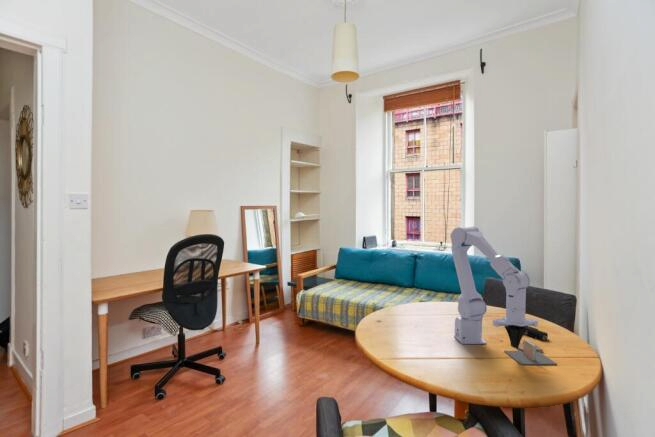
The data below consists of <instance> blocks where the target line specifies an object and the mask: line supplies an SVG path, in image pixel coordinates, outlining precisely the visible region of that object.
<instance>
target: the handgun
mask: <svg viewBox="0 0 655 437" xmlns="http://www.w3.org/2000/svg"><path fill="white" fill-rule="evenodd" d="M524 327H525V328H526V329H527V331H526V333H525V334H524V335H527V336H529V337H531V338H534V339H537V340H541V341H546V340H548V338H549V337H548V332H546V331H542V330H540V329H538V328H537V327H536V328H535V327H534V326H524Z"/></svg>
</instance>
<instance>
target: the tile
mask: <svg viewBox="0 0 655 437" xmlns="http://www.w3.org/2000/svg"><path fill="white" fill-rule="evenodd" d="M523 341H524V344H523V345H524V350H523V354H525V355H526V356H527V357H529V358H530V359H531V360H536V345H537V344H536V345H535V343H534V342H533V343H534V344H533V343H532V341H531V342H530V340H529V339H523Z"/></svg>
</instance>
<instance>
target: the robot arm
mask: <svg viewBox="0 0 655 437" xmlns="http://www.w3.org/2000/svg"><path fill="white" fill-rule="evenodd" d="M450 239H451V241H450V242H451V254H452V258H453V263H454V266H455V267H454V268H455V271H456V274H457V279H458V283H459V288H460V289H459V290H460V292H461V293H460V295H459V296H458V298H457V303H458V304H457V311H458V314H459V315H460V316H457V317H456V318H454V334H453V337H454V338H455V339H456V340H457V341H458V342H460V344H462V345H472V344H473V345H477V344H478V345H480V344H484V345H486V344H487V342H486V341H485V340H484V339H483V318H484V315H485V314H486V313H487V310H488V308H487V304H486V302H485V301H484V300H483V296H482V294H480V293H479V292H478V291H477V289H476V284H475V280H474V276H473V272H472V268H471V263H470V259H469V256H468V251H469V249H470V248H471V247H473V246H474V247H476V248H477V249H478V250H479V251H480V252H481V254H483V255H484V257H486V258H487V259H488V260H489V261H490V263H489V264H490V267H491V268H492V269H493V270H494V271H495V272H496V273H497V275H498V276H499V277H501V279H502V284H503V286H504V288H505V293H506V301H505V306H506V307H505V308H506V309H505V317H503V318H497V319H496V318H495V319H492V325H493V326H494V327H496V328H498V327H504V328H505V330H506V332H507V335H508V338H509V341H510V346H511V347H512V348H514V349H517V348H518V347H519V344H520V343H521V341H522V338H523V337H524V335H526V334H525V333H526V331H527V329H526V328H525V327H524V326H529V327H534V328H535V327H536V328H537V327H538V326H539V321H538V320H537V319H535V318H526V302H527V300H526V299H527V298H526V297H527V296H526V294H527V288H528V287H529V286H530V283H531V279H530V277H529V276H528V274H527V272H525V271H522V270H519V269H518V267H515V265H514V264H513V263H511V261H510V259H509V257H508V256H505V255H502V254H499V253H498V252H497V251H496V250H495V249H494V248H493V246H492V245H491V244H490V243H489V242H488V240H487V239H486V238H485V237H484V234H483V232H482V231H481V230H479V228H478V227H476V226H466V227H465V226H464V227H463V226H462V227H461V226H457V227H455V228H453V230H452V231H451V233H450Z"/></svg>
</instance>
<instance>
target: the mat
mask: <svg viewBox="0 0 655 437" xmlns="http://www.w3.org/2000/svg"><path fill="white" fill-rule="evenodd" d="M503 352H504V353H505V354H506V355H508V356H509V357H510V358H512V359H513V360H514V361H515V362H517V363H518V364H520V365H521V366H557V365H558V363H557V362H555V361H554V360H552V359H550V357H548V356H546V355H545V354H543V352H539V351H536V360H531V359H530V358H529V357H527V356H526V355H525V354H523V351H520V350H504V351H503Z"/></svg>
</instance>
